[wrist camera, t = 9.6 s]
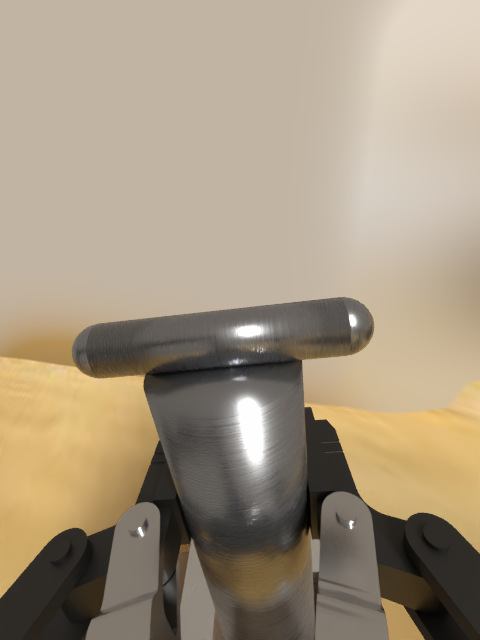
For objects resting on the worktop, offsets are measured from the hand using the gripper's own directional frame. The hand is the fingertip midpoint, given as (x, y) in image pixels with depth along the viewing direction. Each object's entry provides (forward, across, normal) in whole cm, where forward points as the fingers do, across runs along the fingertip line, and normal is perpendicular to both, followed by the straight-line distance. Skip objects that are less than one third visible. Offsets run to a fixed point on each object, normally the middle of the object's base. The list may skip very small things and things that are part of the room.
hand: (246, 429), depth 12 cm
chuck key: (-3, 0, +8) cm, 8 cm away
